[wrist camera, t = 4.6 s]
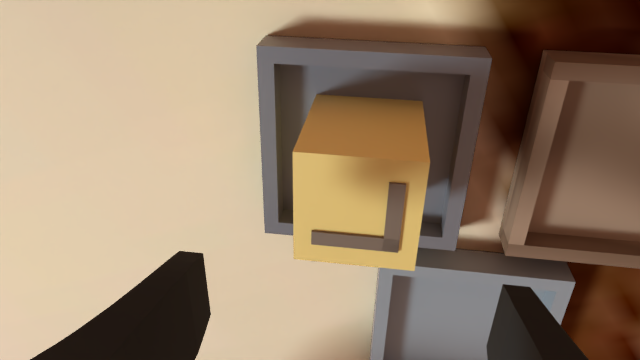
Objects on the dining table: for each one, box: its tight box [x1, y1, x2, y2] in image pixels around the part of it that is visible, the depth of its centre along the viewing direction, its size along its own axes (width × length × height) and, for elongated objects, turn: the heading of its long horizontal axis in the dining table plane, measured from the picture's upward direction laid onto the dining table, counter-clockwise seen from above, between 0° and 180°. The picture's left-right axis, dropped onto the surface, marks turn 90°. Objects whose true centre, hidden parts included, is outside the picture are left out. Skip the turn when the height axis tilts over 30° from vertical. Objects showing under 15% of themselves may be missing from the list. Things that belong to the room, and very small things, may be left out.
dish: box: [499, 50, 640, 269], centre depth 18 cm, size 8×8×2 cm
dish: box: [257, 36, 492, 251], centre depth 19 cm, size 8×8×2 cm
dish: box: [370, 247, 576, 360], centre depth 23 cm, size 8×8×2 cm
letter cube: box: [293, 94, 430, 271], centre depth 17 cm, size 4×4×5 cm
